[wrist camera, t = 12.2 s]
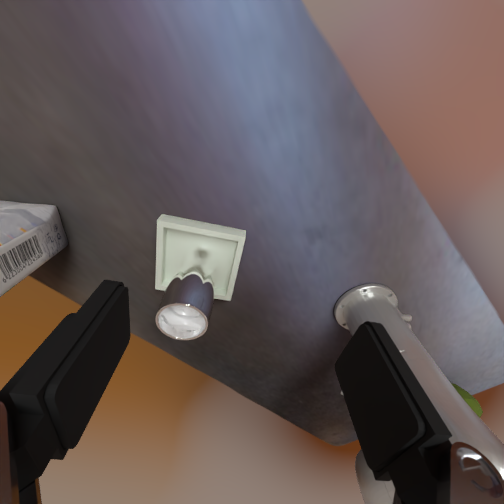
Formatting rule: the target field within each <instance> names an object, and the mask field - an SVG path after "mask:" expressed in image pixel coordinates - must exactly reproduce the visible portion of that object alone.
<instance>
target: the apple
mask: <svg viewBox="0 0 504 504" xmlns="http://www.w3.org/2000/svg"><path fill="white" fill-rule="evenodd" d="M451 384H452V383H451ZM452 385H453V387H454V388H455V389H456V391H457V392H458V393H459V394H460V396H461V397H462V398H463V399H464V401H465V402H466V403H467V404H468V405H469V406H470V408H471V409H472V410H473V411H474V412H475V413H476V414H477V416H478V417H479V418H480V417H481V415H482V413H483V411H482V409H481V407H480V404H479V403H478V401H477V400H476V399H475V398H474V397H472V396H471V395H470V394H469V393H468V392H467V391H465V390H464V389H462V388H461V387H459V386H457V385H456V384H452Z"/></svg>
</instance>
